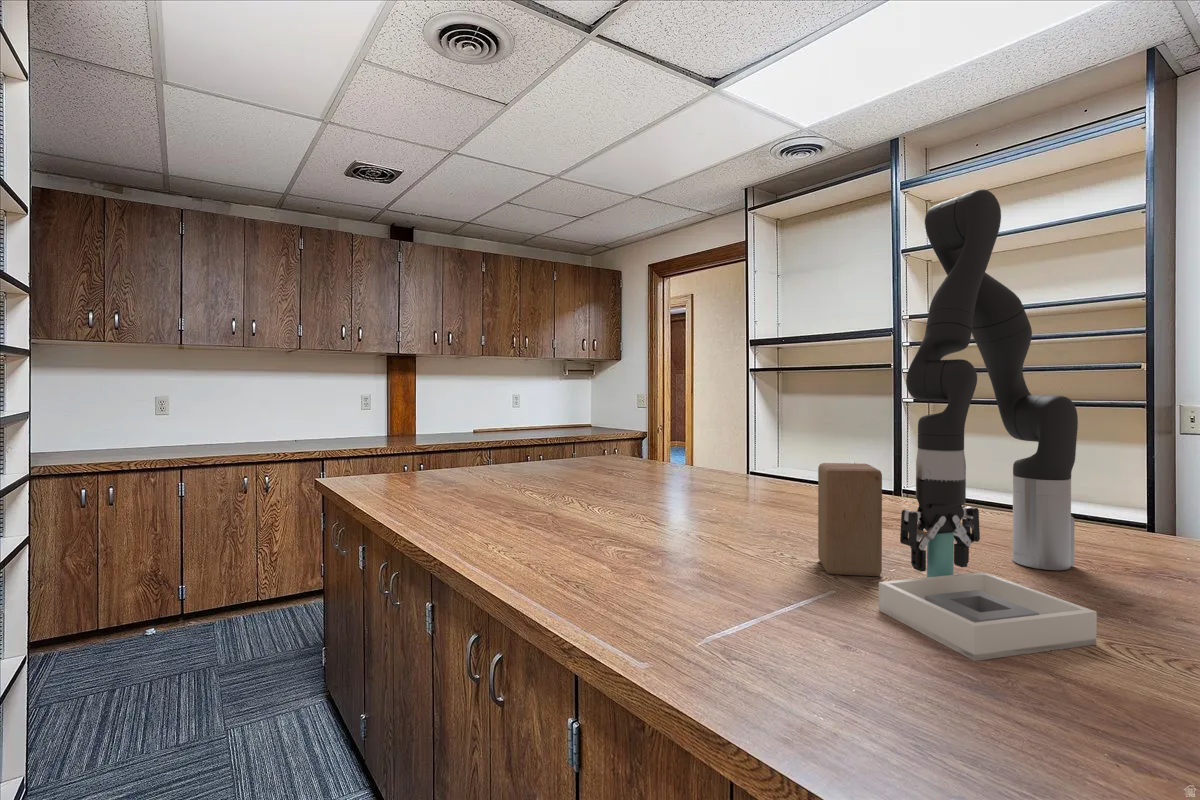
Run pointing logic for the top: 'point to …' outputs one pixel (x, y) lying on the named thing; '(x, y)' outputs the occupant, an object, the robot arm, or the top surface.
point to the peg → (940, 555)
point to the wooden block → (850, 519)
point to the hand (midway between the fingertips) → (940, 568)
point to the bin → (987, 615)
